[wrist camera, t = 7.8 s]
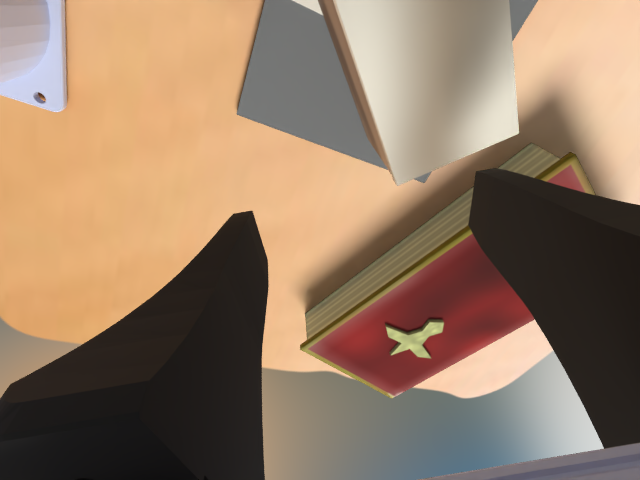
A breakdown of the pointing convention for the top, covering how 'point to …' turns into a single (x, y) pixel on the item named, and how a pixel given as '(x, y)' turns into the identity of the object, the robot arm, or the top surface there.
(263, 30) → the mat
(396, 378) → the hardcover book
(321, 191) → the top surface
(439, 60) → the card box
